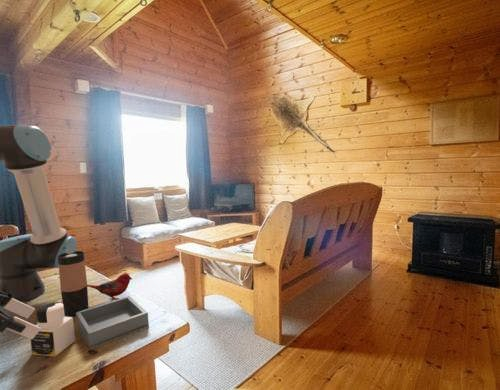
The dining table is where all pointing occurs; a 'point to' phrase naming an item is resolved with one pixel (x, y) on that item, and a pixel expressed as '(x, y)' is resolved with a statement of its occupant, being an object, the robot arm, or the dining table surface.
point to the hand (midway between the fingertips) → (33, 323)
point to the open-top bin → (111, 321)
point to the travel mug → (73, 282)
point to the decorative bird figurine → (114, 286)
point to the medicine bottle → (52, 330)
